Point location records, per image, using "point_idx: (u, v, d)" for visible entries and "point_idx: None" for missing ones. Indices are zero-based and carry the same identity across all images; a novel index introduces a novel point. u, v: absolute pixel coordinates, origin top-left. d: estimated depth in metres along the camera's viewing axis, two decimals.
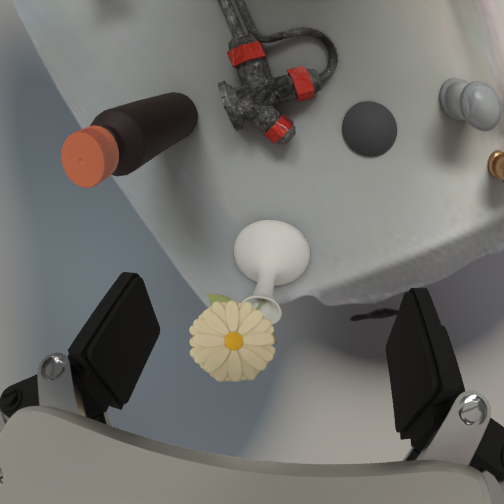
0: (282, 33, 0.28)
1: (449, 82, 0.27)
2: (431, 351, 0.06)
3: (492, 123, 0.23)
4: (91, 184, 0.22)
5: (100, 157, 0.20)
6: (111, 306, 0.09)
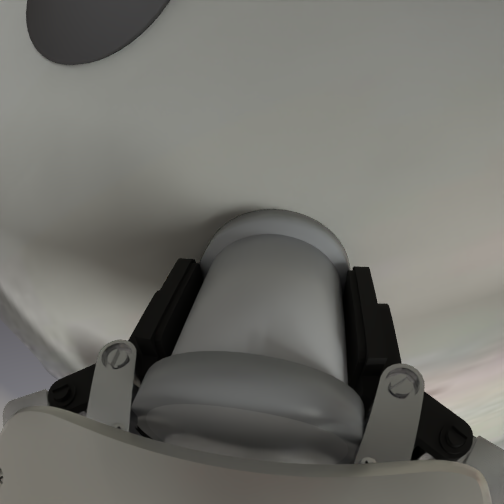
0: None
1: (333, 252, 0.10)
2: (362, 323, 0.08)
3: None
4: None
5: None
6: (174, 290, 0.09)
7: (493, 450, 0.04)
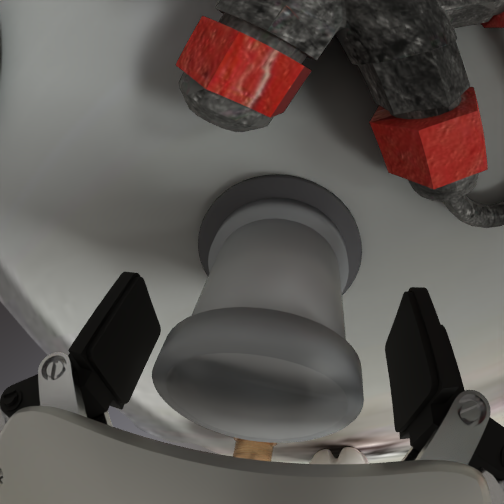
0: None
1: (332, 236, 0.11)
2: (430, 350, 0.07)
3: (204, 421, 0.09)
4: None
5: None
6: (112, 305, 0.09)
7: None
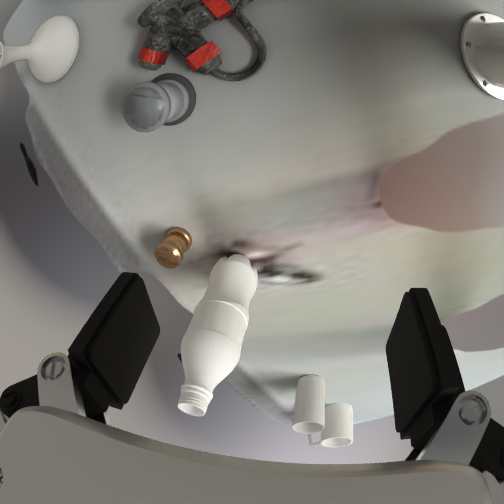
0: (249, 25, 0.27)
1: (179, 85, 0.32)
2: (431, 351, 0.06)
3: (132, 123, 0.30)
4: None
5: None
6: (111, 306, 0.09)
7: None
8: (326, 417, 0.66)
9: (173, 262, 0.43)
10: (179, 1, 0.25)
